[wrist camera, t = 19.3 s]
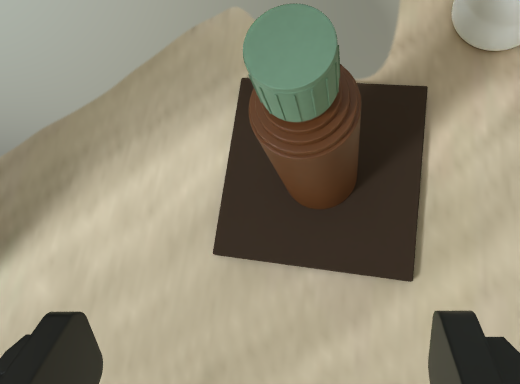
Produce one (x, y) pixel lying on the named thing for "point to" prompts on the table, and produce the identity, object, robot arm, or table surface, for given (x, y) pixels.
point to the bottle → (314, 147)
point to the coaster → (343, 215)
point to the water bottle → (488, 23)
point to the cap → (293, 61)
